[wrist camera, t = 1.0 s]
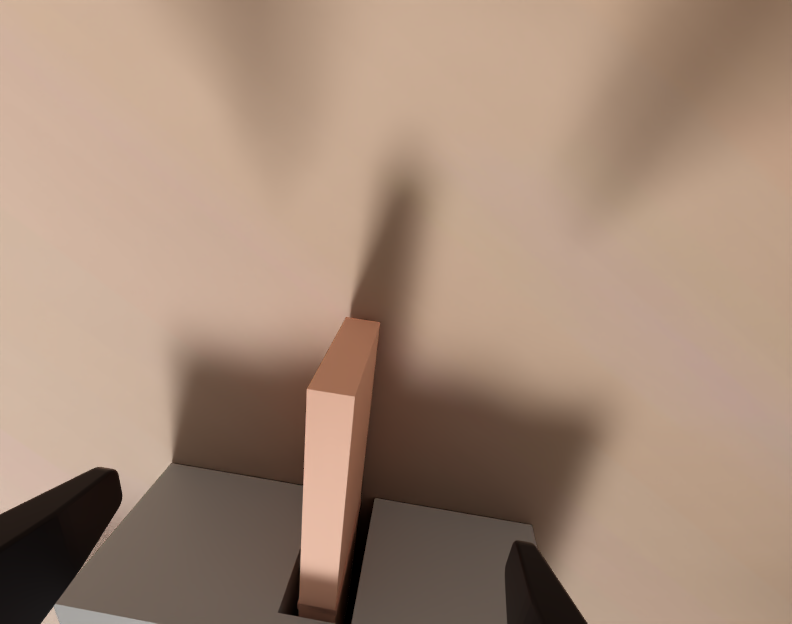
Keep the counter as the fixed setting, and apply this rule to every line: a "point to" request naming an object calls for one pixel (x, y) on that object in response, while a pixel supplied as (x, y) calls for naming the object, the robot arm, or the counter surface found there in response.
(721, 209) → the counter surface
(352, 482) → the peach rectangular bar
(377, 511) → the notched grey box
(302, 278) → the counter surface
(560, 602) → the robot arm
